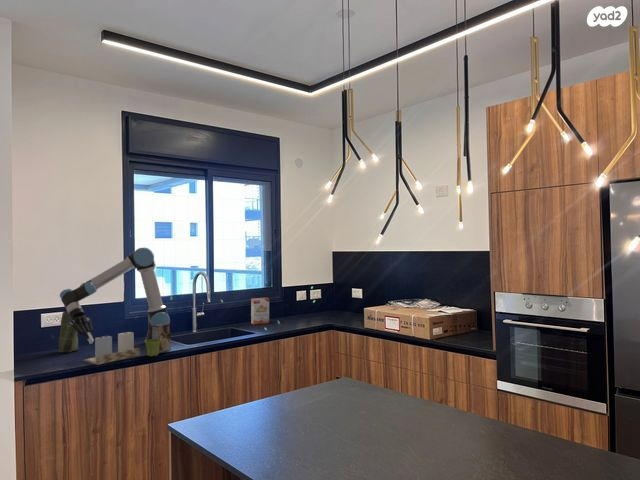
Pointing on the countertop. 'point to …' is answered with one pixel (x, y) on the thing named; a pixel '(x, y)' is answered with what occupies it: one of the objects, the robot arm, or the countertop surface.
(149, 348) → the plant pot
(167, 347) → the coffee box
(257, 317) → the cracker box
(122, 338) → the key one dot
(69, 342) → the pouch
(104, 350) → the grey upright block
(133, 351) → the console
